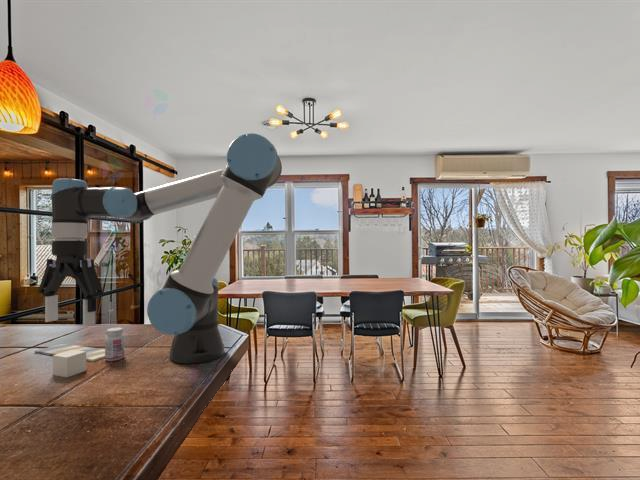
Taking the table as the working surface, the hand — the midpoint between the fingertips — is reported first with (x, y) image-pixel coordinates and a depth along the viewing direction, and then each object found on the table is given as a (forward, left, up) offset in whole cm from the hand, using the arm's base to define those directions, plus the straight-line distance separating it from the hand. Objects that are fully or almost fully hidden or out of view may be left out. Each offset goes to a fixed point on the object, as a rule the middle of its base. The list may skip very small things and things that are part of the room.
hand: (69, 322), depth 91 cm
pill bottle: (-2, -12, -13) cm, 18 cm away
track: (+14, -12, -13) cm, 22 cm away
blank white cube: (0, 0, -13) cm, 13 cm away
